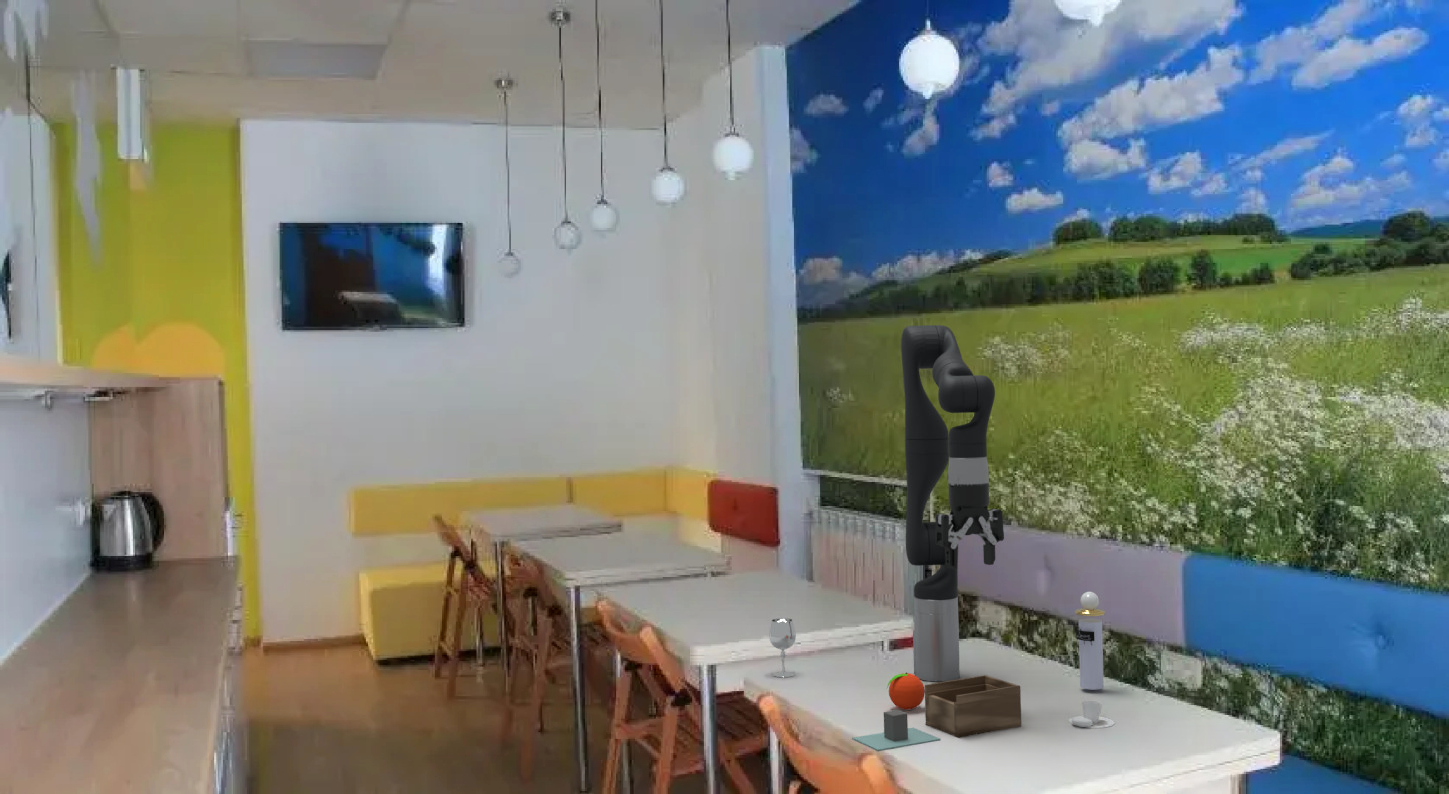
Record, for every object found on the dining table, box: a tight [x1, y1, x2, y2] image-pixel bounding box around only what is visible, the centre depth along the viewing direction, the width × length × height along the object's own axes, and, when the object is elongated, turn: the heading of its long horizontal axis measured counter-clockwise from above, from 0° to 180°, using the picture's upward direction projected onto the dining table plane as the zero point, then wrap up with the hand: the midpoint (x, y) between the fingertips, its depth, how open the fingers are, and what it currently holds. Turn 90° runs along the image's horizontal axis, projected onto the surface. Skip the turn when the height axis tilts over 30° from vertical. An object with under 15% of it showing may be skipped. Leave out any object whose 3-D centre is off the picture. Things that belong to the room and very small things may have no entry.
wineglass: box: [768, 617, 797, 678], centre depth 269 cm, size 6×6×12 cm
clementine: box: [886, 672, 925, 711], centre depth 237 cm, size 8×7×7 cm
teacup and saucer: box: [1068, 699, 1115, 729], centre depth 225 cm, size 9×8×4 cm
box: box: [924, 674, 1022, 739], centre depth 225 cm, size 10×14×7 cm
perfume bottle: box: [1074, 591, 1106, 691], centre depth 248 cm, size 6×6×20 cm
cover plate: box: [851, 709, 941, 752], centre depth 217 cm, size 8×13×5 cm, turn 115°
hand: (970, 566), depth 232 cm, fingers open, 8 cm apart
